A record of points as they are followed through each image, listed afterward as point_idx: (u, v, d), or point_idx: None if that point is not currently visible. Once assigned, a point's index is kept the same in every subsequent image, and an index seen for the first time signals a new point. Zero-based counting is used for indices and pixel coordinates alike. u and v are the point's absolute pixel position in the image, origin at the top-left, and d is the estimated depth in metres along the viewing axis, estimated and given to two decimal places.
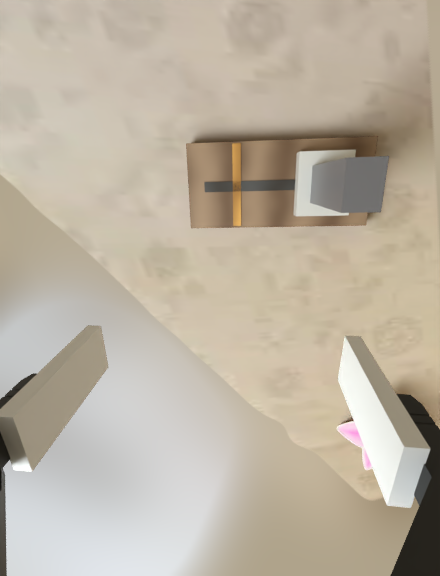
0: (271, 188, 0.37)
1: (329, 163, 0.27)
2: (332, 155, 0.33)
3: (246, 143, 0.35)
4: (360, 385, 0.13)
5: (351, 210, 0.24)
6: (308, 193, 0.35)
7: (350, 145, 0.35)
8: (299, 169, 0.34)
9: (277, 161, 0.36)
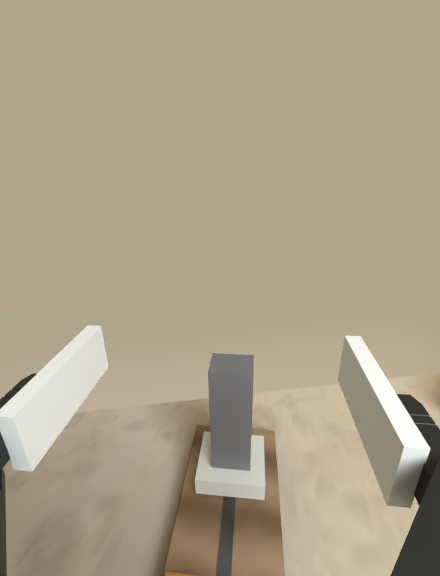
0: (231, 528, 0.28)
1: (211, 414, 0.29)
2: (205, 449, 0.33)
3: (168, 562, 0.26)
4: (360, 386, 0.13)
5: (251, 369, 0.27)
6: (239, 472, 0.31)
7: (200, 444, 0.37)
8: (213, 480, 0.30)
9: (200, 518, 0.29)
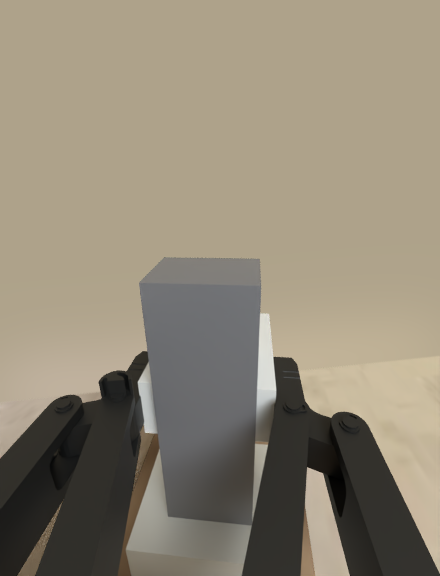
0: None
1: (157, 397, 0.12)
2: (160, 474, 0.16)
3: None
4: None
5: (255, 277, 0.10)
6: (229, 528, 0.14)
7: None
8: (167, 552, 0.13)
9: None
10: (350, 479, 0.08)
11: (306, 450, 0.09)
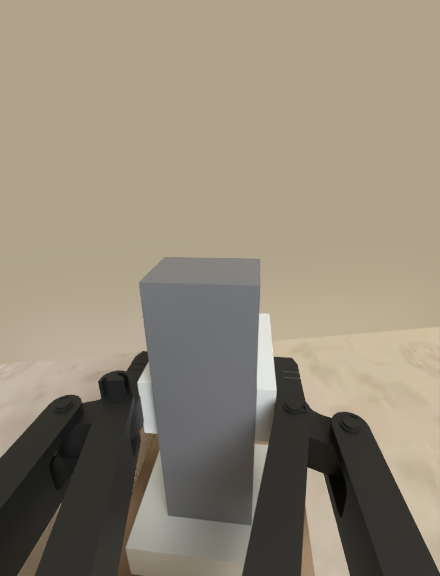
0: None
1: (156, 396, 0.12)
2: (161, 473, 0.17)
3: None
4: None
5: (254, 277, 0.10)
6: (228, 528, 0.14)
7: None
8: (166, 551, 0.13)
9: None
10: (351, 479, 0.08)
11: (307, 450, 0.09)
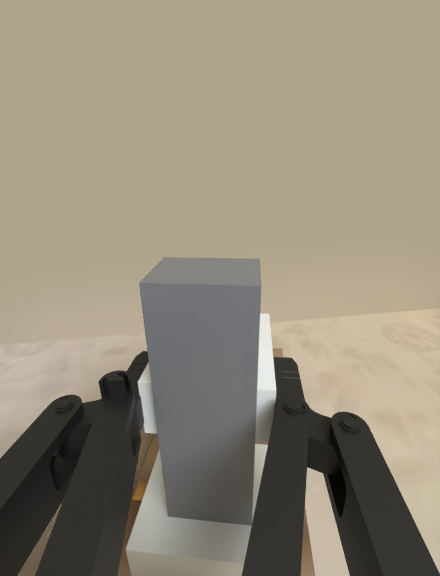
0: None
1: (157, 397, 0.12)
2: (160, 473, 0.16)
3: (143, 473, 0.19)
4: None
5: (255, 277, 0.10)
6: (228, 528, 0.14)
7: None
8: (167, 552, 0.13)
9: None
10: (350, 479, 0.08)
11: (306, 450, 0.09)
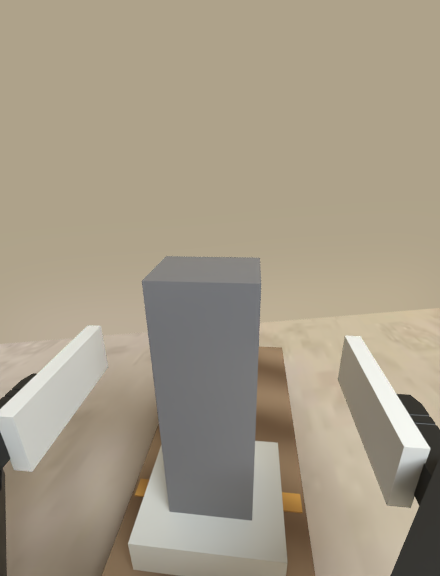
0: None
1: (159, 394, 0.12)
2: (162, 470, 0.17)
3: (145, 469, 0.19)
4: (360, 386, 0.13)
5: (255, 275, 0.11)
6: (229, 523, 0.14)
7: None
8: (169, 546, 0.13)
9: None
10: None
11: None
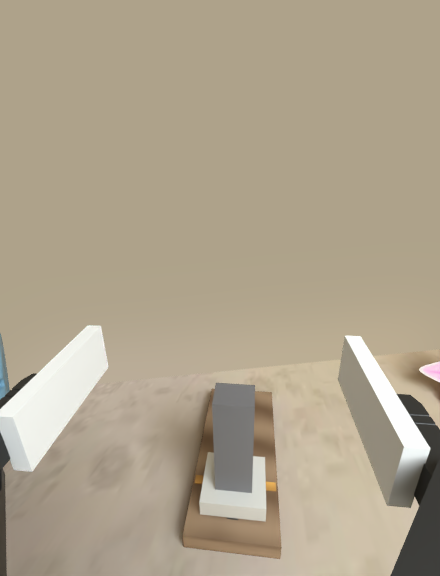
0: None
1: (214, 441, 0.30)
2: (209, 470, 0.35)
3: (197, 470, 0.38)
4: (360, 386, 0.13)
5: (252, 400, 0.29)
6: (242, 494, 0.32)
7: None
8: (216, 503, 0.32)
9: None
10: None
11: None
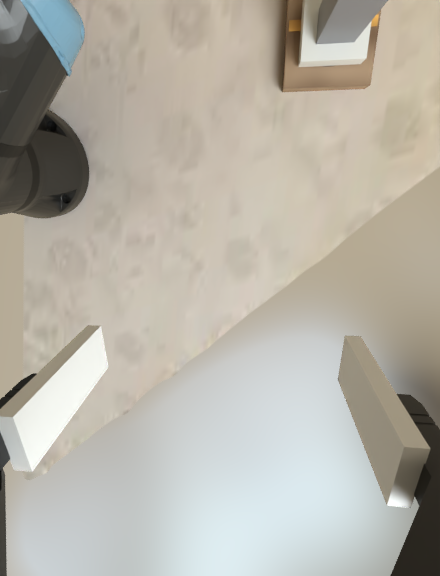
0: None
1: (333, 13, 0.26)
2: (308, 20, 0.32)
3: (290, 13, 0.34)
4: (360, 386, 0.13)
5: None
6: (343, 45, 0.33)
7: None
8: (317, 59, 0.33)
9: None
10: None
11: None
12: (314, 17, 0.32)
